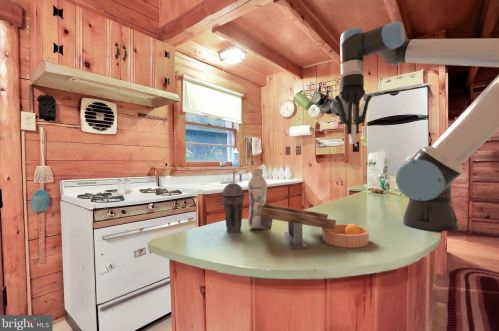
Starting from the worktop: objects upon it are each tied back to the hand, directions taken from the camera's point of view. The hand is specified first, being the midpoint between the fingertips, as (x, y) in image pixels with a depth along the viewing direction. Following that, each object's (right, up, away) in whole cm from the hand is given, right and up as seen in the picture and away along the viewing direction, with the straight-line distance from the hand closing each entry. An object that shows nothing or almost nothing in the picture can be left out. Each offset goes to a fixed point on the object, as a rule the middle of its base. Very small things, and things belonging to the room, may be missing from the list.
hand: (352, 143), depth 89 cm
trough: (-24, -26, -15) cm, 39 cm away
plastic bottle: (-34, -29, -4) cm, 45 cm away
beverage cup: (-42, -29, -6) cm, 51 cm away
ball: (-7, -26, -19) cm, 33 cm away
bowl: (-10, -29, -18) cm, 36 cm away
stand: (-24, -29, -18) cm, 42 cm away
